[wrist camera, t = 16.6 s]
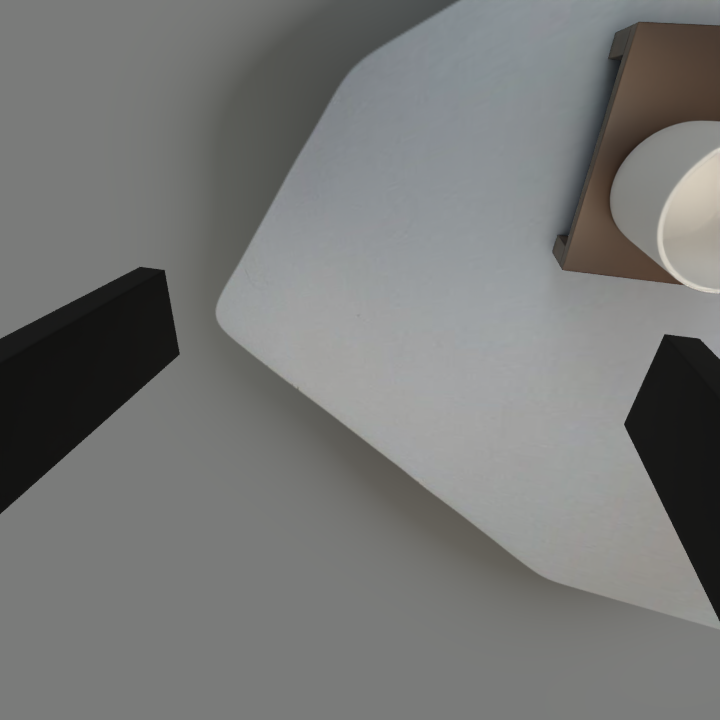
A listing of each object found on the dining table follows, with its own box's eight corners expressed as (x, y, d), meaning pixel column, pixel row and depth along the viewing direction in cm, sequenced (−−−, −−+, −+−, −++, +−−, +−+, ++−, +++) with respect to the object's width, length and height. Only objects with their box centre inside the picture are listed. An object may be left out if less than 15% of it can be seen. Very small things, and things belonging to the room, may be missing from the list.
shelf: (615, 32, 32) (655, 13, 25) (803, 41, 30) (901, 24, 23) (552, 252, 40) (569, 283, 33) (697, 269, 38) (747, 305, 32)
